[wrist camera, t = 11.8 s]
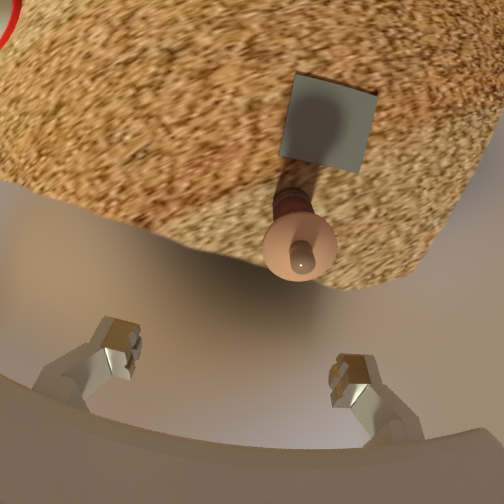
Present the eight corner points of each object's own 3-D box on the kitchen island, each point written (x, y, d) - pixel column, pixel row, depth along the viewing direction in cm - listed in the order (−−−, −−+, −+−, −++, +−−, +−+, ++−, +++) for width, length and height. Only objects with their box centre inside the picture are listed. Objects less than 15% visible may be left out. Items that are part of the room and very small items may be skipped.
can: (300, 179, 47) (313, 213, 35) (314, 212, 50) (330, 256, 38) (265, 193, 49) (266, 233, 37) (281, 226, 51) (286, 273, 39)
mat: (295, 74, 39) (295, 74, 38) (376, 96, 39) (378, 96, 39) (278, 155, 45) (279, 155, 45) (357, 172, 46) (358, 173, 45)
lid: (269, 205, 35) (270, 221, 31) (343, 218, 35) (352, 234, 32) (257, 270, 39) (256, 290, 36) (324, 279, 40) (330, 300, 36)
